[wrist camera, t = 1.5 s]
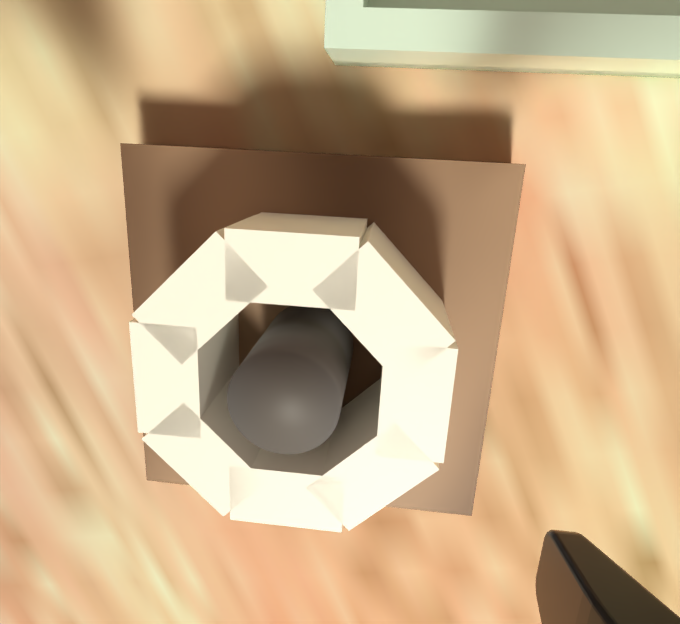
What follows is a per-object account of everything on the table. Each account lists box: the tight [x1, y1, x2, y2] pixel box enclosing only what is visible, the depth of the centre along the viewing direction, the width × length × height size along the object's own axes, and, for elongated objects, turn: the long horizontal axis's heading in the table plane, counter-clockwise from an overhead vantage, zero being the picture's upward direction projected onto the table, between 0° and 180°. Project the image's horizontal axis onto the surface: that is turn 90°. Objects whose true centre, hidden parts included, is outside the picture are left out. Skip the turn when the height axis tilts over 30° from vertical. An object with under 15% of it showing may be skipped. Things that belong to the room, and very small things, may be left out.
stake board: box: [120, 143, 526, 516], centre depth 13 cm, size 10×10×5 cm
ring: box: [129, 212, 458, 532], centre depth 12 cm, size 7×7×3 cm
